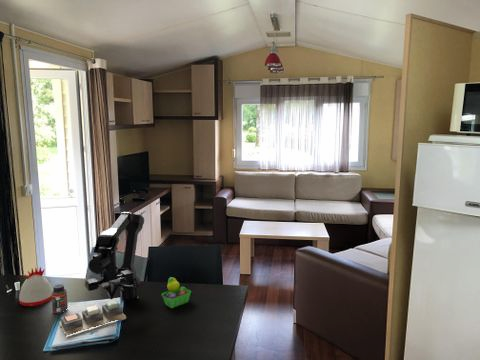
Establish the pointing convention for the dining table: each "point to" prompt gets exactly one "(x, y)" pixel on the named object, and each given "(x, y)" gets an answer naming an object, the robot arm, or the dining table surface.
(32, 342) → the dining table surface
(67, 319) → the button terracotta
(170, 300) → the fruit basket
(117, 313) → the button panel
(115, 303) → the button sage
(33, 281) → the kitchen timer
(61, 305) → the supplement bottle
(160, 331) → the dining table surface
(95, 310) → the button cream
